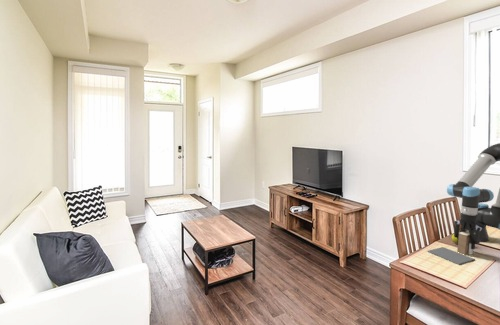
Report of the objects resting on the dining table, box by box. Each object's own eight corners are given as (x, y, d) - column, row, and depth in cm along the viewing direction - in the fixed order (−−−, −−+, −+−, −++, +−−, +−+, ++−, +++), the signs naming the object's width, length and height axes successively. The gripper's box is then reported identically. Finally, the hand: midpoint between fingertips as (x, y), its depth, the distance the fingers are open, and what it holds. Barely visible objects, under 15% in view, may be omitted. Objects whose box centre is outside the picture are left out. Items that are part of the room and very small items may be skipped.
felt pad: (442, 247, 166) (442, 246, 166) (474, 260, 150) (474, 259, 150) (427, 251, 160) (427, 250, 160) (458, 264, 145) (458, 263, 145)
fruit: (466, 244, 170) (468, 226, 169) (462, 247, 167) (463, 228, 165) (454, 241, 176) (455, 223, 175) (449, 243, 173) (450, 225, 171)
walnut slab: (465, 249, 163) (467, 230, 162) (473, 252, 160) (475, 233, 158) (457, 252, 160) (459, 232, 159) (464, 254, 156) (466, 235, 155)
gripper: (448, 210, 164) (445, 247, 166) (483, 218, 147) (478, 259, 150) (456, 208, 167) (453, 245, 169) (491, 217, 150) (486, 257, 153)
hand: (465, 251), depth 160 cm, fingers open, 5 cm apart
